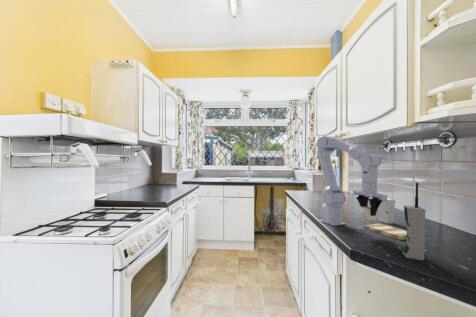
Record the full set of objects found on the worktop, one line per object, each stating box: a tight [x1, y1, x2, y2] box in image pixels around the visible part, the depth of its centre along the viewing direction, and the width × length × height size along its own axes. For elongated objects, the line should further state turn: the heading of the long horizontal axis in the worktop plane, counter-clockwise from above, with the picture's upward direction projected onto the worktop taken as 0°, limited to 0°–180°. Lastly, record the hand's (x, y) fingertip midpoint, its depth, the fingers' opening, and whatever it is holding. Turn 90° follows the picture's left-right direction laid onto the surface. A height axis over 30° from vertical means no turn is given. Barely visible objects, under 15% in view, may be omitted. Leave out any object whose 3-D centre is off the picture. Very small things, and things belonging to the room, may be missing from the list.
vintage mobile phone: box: [402, 182, 426, 261], centre depth 78 cm, size 4×5×25 cm
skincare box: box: [377, 197, 396, 225], centre depth 121 cm, size 6×4×12 cm
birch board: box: [364, 222, 407, 241], centre depth 104 cm, size 16×10×2 cm, turn 24°
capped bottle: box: [357, 205, 378, 221], centre depth 100 cm, size 4×10×5 cm, turn 114°
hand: (368, 214), depth 100 cm, fingers closed on capped bottle, 4 cm apart
